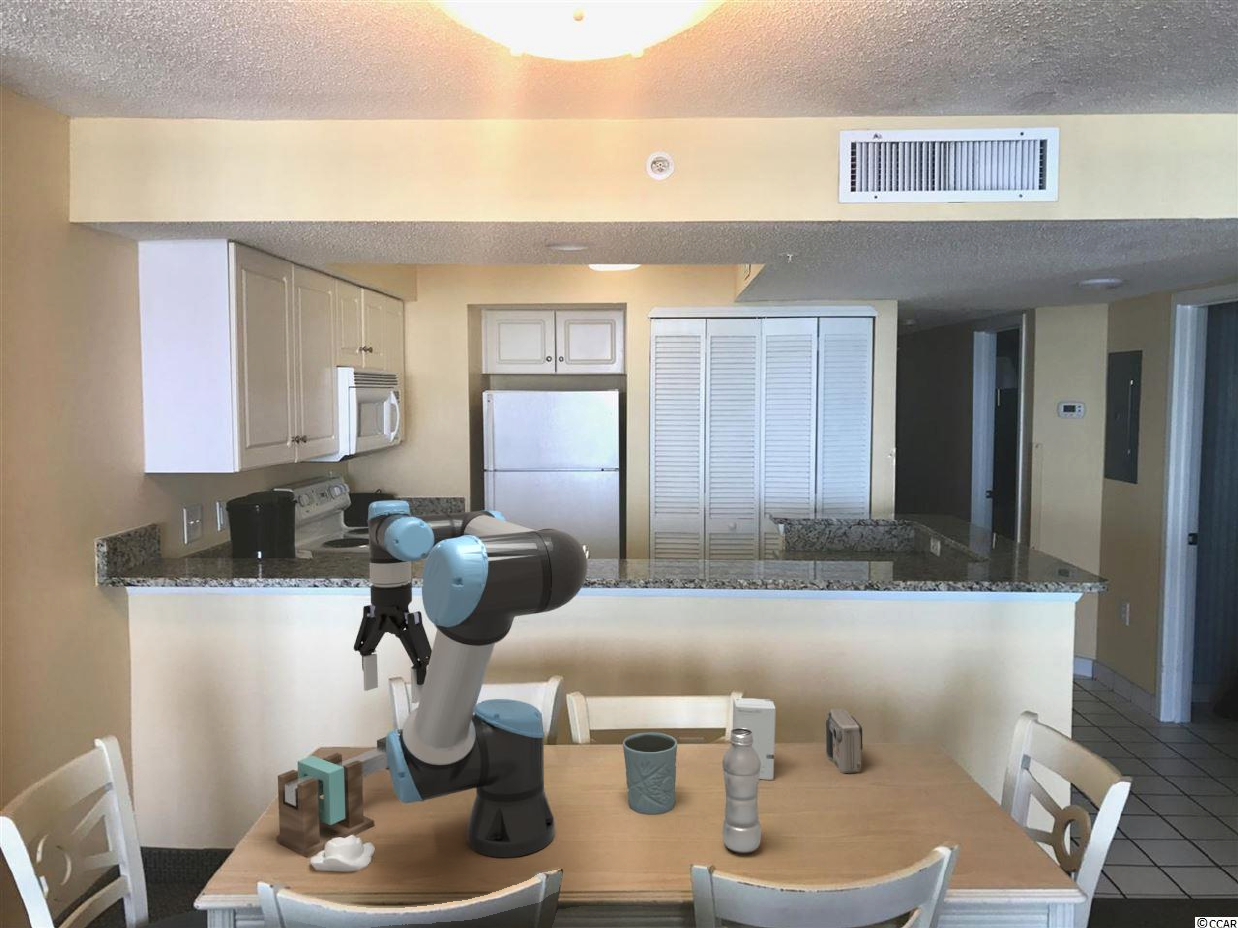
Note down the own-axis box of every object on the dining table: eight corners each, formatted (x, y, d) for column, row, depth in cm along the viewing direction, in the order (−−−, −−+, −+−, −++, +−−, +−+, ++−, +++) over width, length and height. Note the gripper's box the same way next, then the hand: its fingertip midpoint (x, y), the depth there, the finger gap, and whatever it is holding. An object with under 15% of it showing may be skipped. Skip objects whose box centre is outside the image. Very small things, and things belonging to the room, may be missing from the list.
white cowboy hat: (320, 858, 136) (301, 833, 143) (321, 885, 136) (302, 860, 144) (382, 839, 142) (361, 816, 149) (383, 865, 142) (361, 841, 150)
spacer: (330, 825, 147) (328, 773, 147) (299, 810, 153) (297, 761, 152) (345, 818, 150) (343, 767, 149) (313, 804, 155) (312, 755, 154)
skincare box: (733, 779, 173) (733, 706, 172) (731, 767, 179) (731, 696, 178) (775, 780, 172) (776, 707, 171) (772, 767, 178) (772, 697, 177)
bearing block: (307, 857, 144) (305, 787, 143) (276, 842, 149) (274, 774, 148) (374, 825, 155) (372, 760, 154) (342, 812, 160) (341, 748, 159)
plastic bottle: (732, 860, 142) (732, 741, 141) (716, 841, 148) (715, 726, 147) (768, 854, 144) (768, 736, 142) (750, 835, 150) (750, 722, 149)
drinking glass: (679, 816, 157) (679, 751, 157) (623, 817, 157) (623, 752, 157) (675, 791, 168) (675, 731, 167) (623, 792, 168) (622, 731, 167)
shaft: (299, 813, 145) (298, 784, 144) (282, 805, 148) (281, 776, 147) (415, 763, 165) (415, 737, 165) (398, 757, 168) (397, 732, 167)
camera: (823, 752, 186) (824, 707, 185) (850, 752, 186) (851, 706, 185) (836, 775, 175) (837, 726, 174) (865, 774, 175) (865, 726, 174)
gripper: (452, 586, 158) (455, 700, 159) (364, 574, 173) (368, 679, 174) (420, 593, 152) (424, 712, 153) (332, 579, 167) (336, 688, 168)
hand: (394, 694), depth 164 cm, fingers open, 13 cm apart
